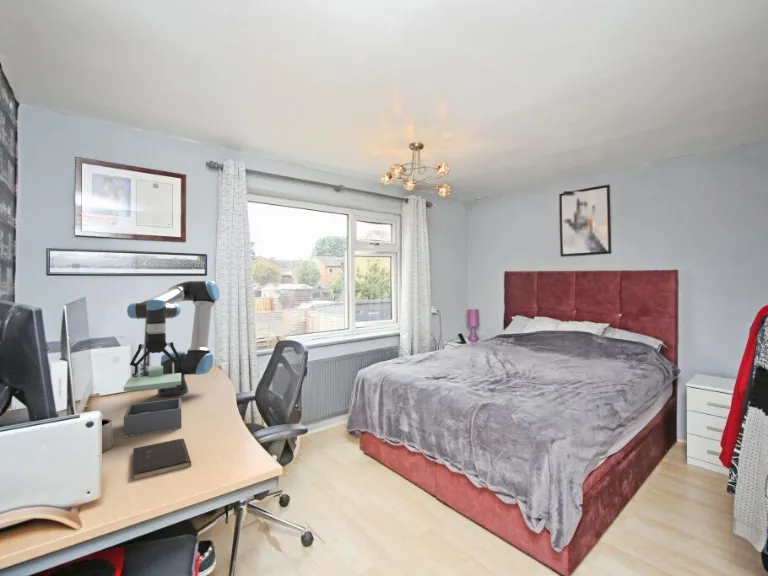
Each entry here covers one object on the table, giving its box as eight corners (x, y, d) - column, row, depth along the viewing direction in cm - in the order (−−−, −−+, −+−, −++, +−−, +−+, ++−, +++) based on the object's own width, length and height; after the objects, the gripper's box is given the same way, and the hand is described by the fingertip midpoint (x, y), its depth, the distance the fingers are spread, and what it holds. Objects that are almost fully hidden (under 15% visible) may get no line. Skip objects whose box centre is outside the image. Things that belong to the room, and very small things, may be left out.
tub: (129, 423, 163) (129, 404, 163) (181, 415, 172) (181, 398, 172) (123, 437, 147) (123, 416, 147) (181, 427, 157) (181, 408, 157)
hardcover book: (132, 482, 113) (132, 474, 113) (133, 454, 132) (133, 448, 132) (191, 467, 122) (191, 460, 122) (184, 444, 141) (184, 437, 141)
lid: (131, 380, 171) (131, 368, 171) (181, 374, 180) (181, 364, 180) (123, 394, 147) (123, 380, 147) (181, 387, 157) (181, 375, 157)
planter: (80, 447, 138) (80, 421, 138) (115, 442, 142) (115, 417, 142) (69, 459, 128) (69, 431, 128) (107, 453, 132) (107, 426, 132)
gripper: (122, 335, 163) (122, 383, 163) (186, 331, 175) (187, 376, 175) (124, 333, 169) (124, 380, 169) (186, 330, 181) (186, 373, 181)
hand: (156, 378), depth 172 cm, fingers open, 13 cm apart
